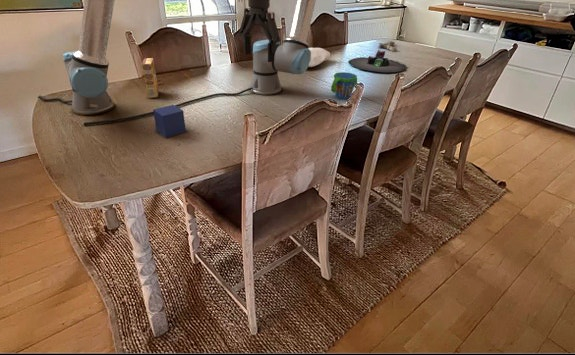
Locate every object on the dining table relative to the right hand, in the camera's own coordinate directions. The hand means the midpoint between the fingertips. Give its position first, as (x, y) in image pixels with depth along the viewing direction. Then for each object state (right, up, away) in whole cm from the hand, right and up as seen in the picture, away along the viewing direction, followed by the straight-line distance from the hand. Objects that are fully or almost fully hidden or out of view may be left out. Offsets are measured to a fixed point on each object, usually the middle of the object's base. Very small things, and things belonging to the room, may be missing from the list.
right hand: (258, 57), depth 137 cm
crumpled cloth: (+21, +23, +82) cm, 88 cm away
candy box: (-51, -7, +30) cm, 59 cm away
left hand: (-90, -3, -28) cm, 95 cm away
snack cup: (+37, -7, +37) cm, 53 cm away
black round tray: (+65, +23, +85) cm, 110 cm away
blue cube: (-33, -28, -2) cm, 43 cm away
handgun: (+86, +49, +126) cm, 160 cm away
